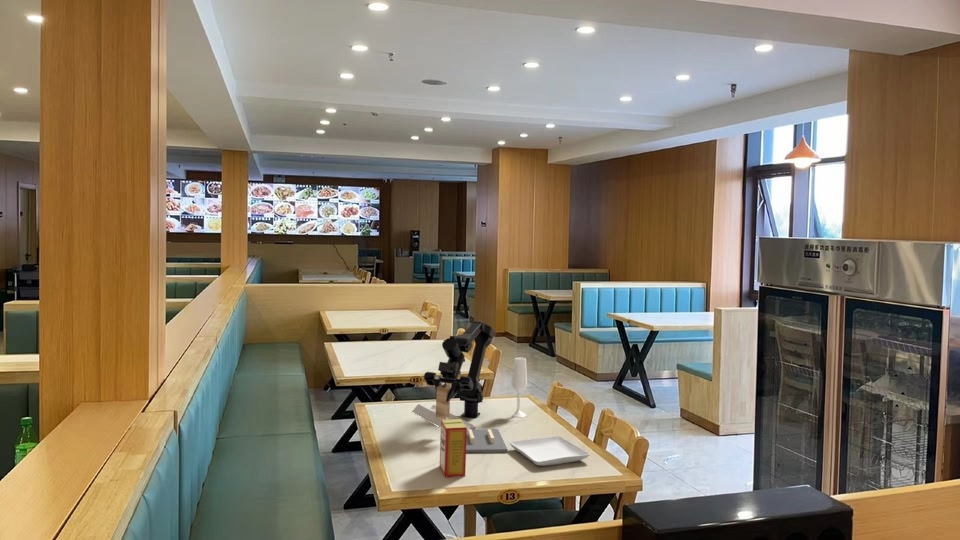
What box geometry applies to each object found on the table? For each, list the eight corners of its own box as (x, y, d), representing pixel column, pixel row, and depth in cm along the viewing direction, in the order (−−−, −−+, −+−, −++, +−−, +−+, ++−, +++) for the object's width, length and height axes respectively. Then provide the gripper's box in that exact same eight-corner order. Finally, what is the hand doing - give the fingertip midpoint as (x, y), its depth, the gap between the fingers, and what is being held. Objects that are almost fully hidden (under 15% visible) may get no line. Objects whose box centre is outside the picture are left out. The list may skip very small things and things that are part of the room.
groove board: (456, 432, 245) (456, 424, 245) (497, 432, 247) (498, 424, 247) (461, 453, 224) (462, 444, 223) (507, 452, 226) (507, 443, 225)
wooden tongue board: (439, 414, 243) (440, 383, 242) (449, 416, 241) (450, 384, 240) (435, 417, 240) (436, 385, 239) (445, 418, 238) (446, 387, 237)
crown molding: (475, 430, 251) (475, 421, 250) (448, 435, 244) (449, 426, 244) (435, 409, 277) (435, 401, 276) (410, 413, 270) (410, 405, 270)
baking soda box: (465, 476, 203) (466, 426, 202) (444, 477, 202) (446, 427, 200) (459, 465, 212) (460, 417, 211) (439, 466, 211) (441, 418, 210)
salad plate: (507, 450, 229) (508, 440, 229) (559, 443, 238) (559, 434, 237) (535, 471, 210) (536, 461, 210) (591, 464, 218) (591, 454, 218)
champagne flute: (510, 411, 275) (513, 356, 273) (526, 413, 274) (528, 357, 272) (509, 416, 268) (511, 359, 267) (525, 417, 267) (527, 360, 266)
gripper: (426, 350, 246) (412, 385, 236) (471, 355, 239) (459, 392, 230) (434, 366, 254) (421, 401, 244) (478, 372, 247) (467, 408, 238)
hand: (441, 400), depth 239 cm, fingers closed on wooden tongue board, 4 cm apart
